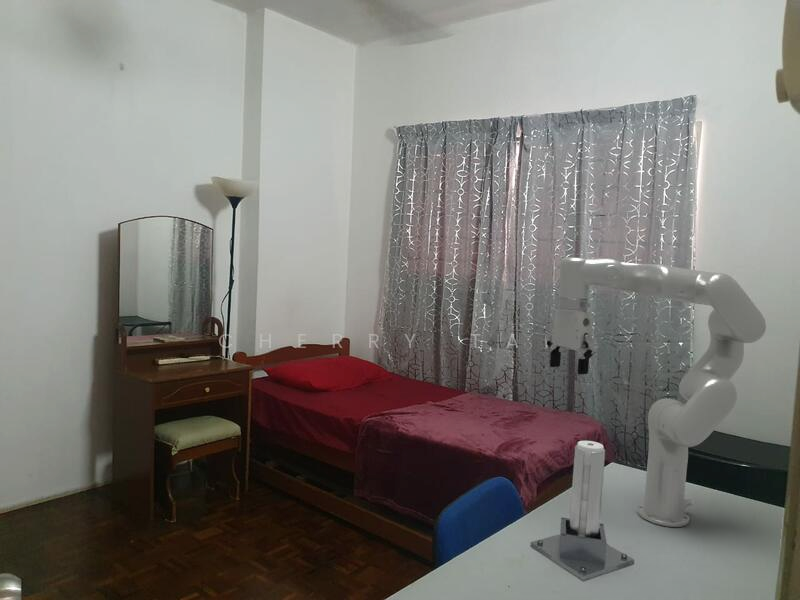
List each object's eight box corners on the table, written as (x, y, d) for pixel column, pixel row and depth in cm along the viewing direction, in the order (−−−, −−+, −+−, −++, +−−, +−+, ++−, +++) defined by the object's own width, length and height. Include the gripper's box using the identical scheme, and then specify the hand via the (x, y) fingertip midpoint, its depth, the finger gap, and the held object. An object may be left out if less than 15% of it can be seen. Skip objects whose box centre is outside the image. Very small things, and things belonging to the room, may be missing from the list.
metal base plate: (579, 532, 144) (580, 509, 144) (633, 563, 131) (635, 537, 130) (530, 546, 136) (532, 521, 136) (583, 580, 123) (585, 553, 122)
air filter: (603, 553, 133) (611, 445, 131) (584, 560, 129) (592, 450, 127) (580, 540, 138) (588, 437, 136) (561, 547, 135) (569, 441, 133)
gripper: (609, 308, 146) (604, 376, 147) (559, 302, 161) (554, 363, 162) (588, 308, 142) (583, 378, 144) (538, 302, 157) (534, 364, 159)
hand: (568, 370), depth 153 cm, fingers open, 9 cm apart
